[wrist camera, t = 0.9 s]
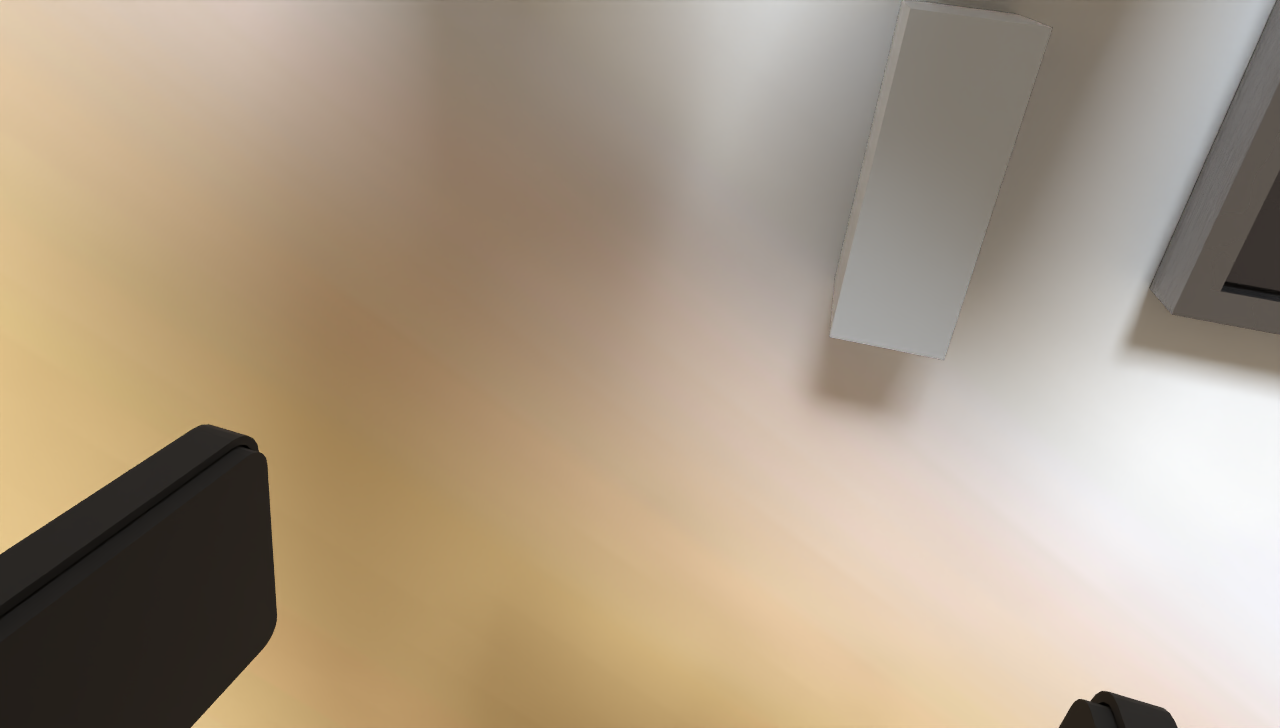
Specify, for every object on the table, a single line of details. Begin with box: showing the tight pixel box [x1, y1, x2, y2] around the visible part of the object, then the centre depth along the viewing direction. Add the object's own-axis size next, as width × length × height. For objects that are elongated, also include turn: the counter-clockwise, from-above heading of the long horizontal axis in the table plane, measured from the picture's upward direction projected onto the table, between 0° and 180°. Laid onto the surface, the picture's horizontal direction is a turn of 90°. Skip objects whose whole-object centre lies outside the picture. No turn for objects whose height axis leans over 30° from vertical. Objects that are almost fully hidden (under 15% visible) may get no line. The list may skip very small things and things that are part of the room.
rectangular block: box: [829, 0, 1052, 360], centre depth 25 cm, size 10×4×6 cm, turn 173°
